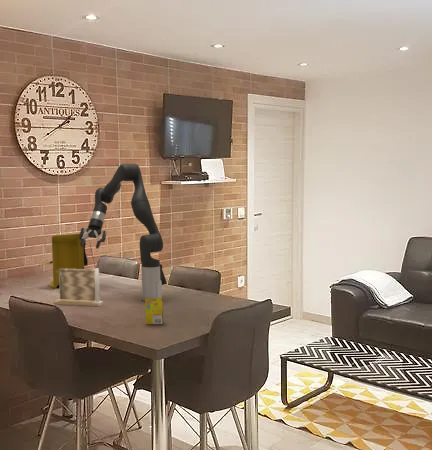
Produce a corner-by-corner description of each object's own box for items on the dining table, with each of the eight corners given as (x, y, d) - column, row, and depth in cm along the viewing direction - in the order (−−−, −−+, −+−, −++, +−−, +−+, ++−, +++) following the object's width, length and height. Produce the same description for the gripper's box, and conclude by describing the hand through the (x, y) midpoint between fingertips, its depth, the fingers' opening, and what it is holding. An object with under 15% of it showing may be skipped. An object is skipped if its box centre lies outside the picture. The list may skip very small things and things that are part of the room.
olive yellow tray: (88, 280, 354) (86, 230, 351) (97, 283, 343) (96, 232, 340) (36, 286, 336) (34, 234, 333) (44, 290, 325) (42, 236, 322)
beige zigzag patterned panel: (95, 300, 292) (94, 269, 290) (93, 301, 290) (93, 269, 289) (61, 298, 296) (60, 268, 295) (59, 299, 295) (58, 268, 293)
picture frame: (103, 303, 293) (102, 267, 291) (99, 306, 288) (98, 269, 286) (58, 301, 299) (56, 266, 297) (53, 303, 294) (51, 267, 292)
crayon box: (163, 322, 257) (162, 296, 256) (162, 324, 254) (162, 297, 253) (146, 322, 257) (145, 296, 256) (145, 324, 254) (144, 297, 253)
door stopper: (153, 286, 335) (152, 265, 334) (148, 284, 340) (147, 263, 339) (167, 284, 340) (166, 263, 339) (162, 282, 345) (161, 262, 344)
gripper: (82, 216, 327) (74, 242, 320) (107, 219, 325) (100, 245, 318) (86, 222, 334) (78, 248, 326) (110, 225, 332) (103, 251, 324)
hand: (89, 247), depth 322 cm, fingers open, 8 cm apart
